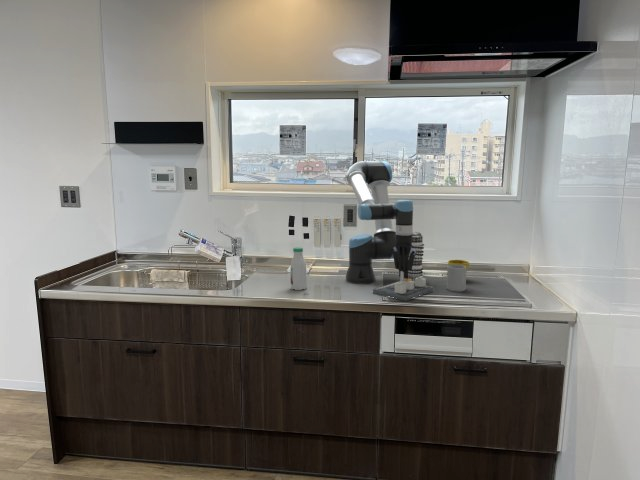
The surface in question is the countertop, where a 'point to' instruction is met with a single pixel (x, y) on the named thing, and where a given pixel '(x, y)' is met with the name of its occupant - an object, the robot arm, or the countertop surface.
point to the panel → (390, 291)
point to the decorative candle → (416, 256)
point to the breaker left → (400, 288)
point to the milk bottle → (298, 270)
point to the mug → (456, 278)
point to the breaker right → (420, 281)
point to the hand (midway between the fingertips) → (403, 284)
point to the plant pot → (459, 263)
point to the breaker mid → (409, 284)
